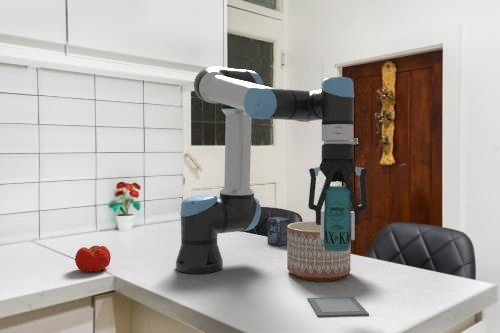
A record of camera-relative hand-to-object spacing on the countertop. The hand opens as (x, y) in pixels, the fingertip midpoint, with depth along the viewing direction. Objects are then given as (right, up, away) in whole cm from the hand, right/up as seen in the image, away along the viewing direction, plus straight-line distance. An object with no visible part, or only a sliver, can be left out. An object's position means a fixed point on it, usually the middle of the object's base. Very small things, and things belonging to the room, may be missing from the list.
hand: (337, 238), depth 108 cm
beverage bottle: (0, -4, 0) cm, 4 cm away
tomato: (-71, -16, +34) cm, 80 cm away
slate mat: (0, -17, +1) cm, 17 cm away
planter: (0, -16, +30) cm, 34 cm away
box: (-9, -14, +73) cm, 75 cm away
